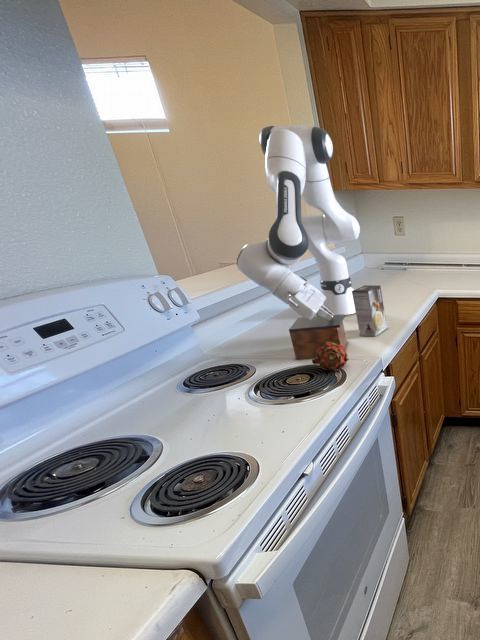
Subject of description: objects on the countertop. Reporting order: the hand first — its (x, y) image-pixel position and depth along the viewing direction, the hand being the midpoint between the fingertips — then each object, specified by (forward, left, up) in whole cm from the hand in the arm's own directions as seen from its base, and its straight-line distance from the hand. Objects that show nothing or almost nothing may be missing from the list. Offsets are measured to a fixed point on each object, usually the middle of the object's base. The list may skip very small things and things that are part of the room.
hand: (332, 317), depth 131 cm
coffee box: (-10, +14, -10) cm, 21 cm away
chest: (-1, -5, -10) cm, 11 cm away
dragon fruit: (+17, -5, -11) cm, 20 cm away
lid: (-1, -4, -2) cm, 5 cm away
